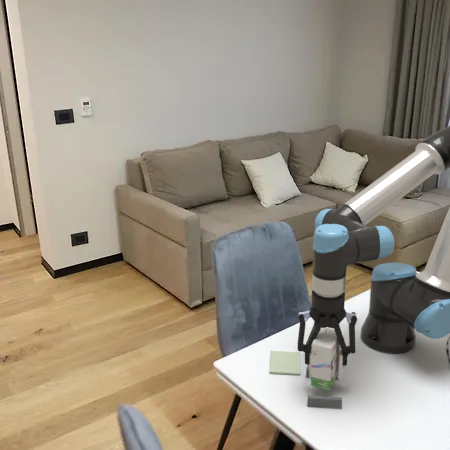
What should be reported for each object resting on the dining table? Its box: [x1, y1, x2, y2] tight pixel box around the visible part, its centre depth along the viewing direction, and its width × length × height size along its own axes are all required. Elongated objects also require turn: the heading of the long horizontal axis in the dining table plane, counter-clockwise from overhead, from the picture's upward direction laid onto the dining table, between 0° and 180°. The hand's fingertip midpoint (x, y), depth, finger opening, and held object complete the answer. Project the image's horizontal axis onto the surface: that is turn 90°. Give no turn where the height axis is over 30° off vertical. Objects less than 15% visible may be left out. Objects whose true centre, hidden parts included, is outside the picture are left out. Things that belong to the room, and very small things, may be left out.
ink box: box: [310, 327, 341, 391], centre depth 125 cm, size 8×5×12 cm, turn 153°
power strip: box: [305, 364, 343, 410], centre depth 135 cm, size 8×28×4 cm, turn 173°
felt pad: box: [268, 350, 301, 377], centre depth 139 cm, size 8×10×1 cm
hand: (325, 375), depth 127 cm, fingers closed on ink box, 6 cm apart
